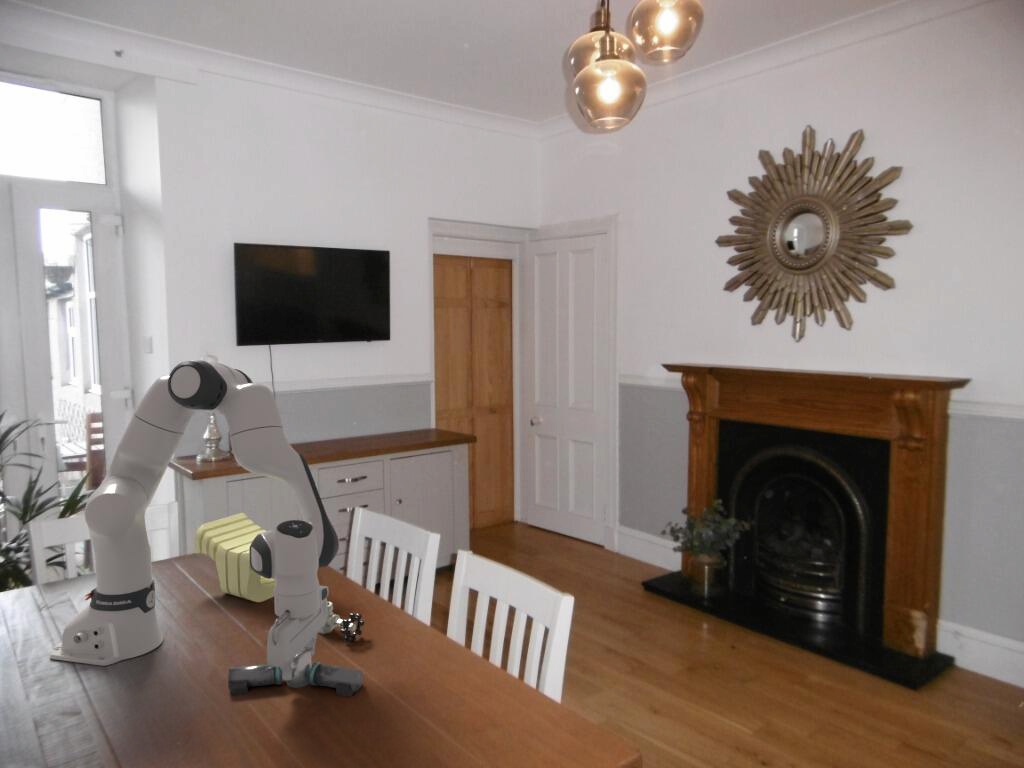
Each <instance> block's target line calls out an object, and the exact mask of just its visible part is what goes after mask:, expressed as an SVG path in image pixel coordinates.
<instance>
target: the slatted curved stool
mask: <svg viewBox="0 0 1024 768" xmlns="http://www.w3.org/2000/svg"><path fill="white" fill-rule="evenodd" d="M266 531H267V530H265V529H262V527H260V526H259V525H258V524H255V522H254V521H253V520H251V519H250V518H249V519H248V516H247V515H246V514H245V513H244V512H239V513H237V514H232V515H230V516H225V517H223V518H219V519H216V520H212V521H209V522H205V523H203V524H202V525H200V526H199V527H198V529H196V532H195V536H194V551H195V554H203V555H204V554H205V555H208V557H210V558H211V559H212V561H215V568H216V570H217V574H218V579H219V587H220V590H221V592H223V593H225V594H229V595H230V596H231V595H232V596H233V597H234V596H235V597H239V598H241V599H244V600H248V601H252V602H254V603H262V602H264V601H265V602H266V601H267V600H269V599H271V598H274V588H275V580H274V579H272V578H270V579H267V578H265V577H262V576H260V575H259V574H257V573H256V572H254V571H253V570H252V568H251V564H250V545H251V543H252V542H253V540H254V538H255V537H256V536H257V535H258V534H261V533H263V532H266Z"/></svg>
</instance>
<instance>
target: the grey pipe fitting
mask: <svg viewBox="0 0 1024 768" xmlns="http://www.w3.org/2000/svg"><path fill="white" fill-rule="evenodd" d="M227 675H228V677H227V685H228V686H227V687H228V690H230V695H231V696H234V695H242V694H244V695H245V694H248V690H249V688H251V687H261V686H269V685H270V686H271V685H276V686H278V685H283V680H284V679H283V671H282V670H281V668H280V667H272V666H269V664H268V663H265V664H264V663H263V664H262V663H261V664H255V665H245V666H234V667H229V669H228V674H227Z"/></svg>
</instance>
